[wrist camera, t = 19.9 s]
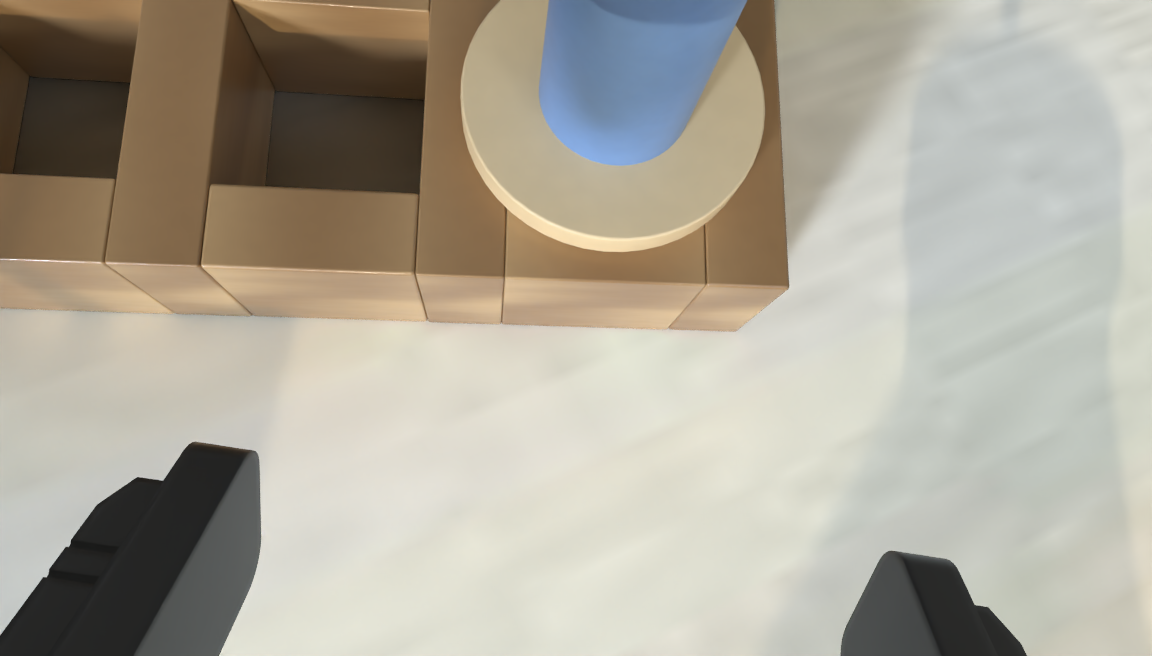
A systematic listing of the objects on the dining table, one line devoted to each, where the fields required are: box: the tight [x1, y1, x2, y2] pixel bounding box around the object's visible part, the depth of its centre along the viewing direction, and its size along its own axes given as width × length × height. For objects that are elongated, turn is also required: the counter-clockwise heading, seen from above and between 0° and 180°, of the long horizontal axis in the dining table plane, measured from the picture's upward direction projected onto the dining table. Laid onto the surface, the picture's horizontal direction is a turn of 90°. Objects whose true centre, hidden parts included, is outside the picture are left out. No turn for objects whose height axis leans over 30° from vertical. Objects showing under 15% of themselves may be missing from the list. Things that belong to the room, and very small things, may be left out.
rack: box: [0, 0, 789, 331], centre depth 20 cm, size 20×8×4 cm, turn 89°
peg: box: [460, 0, 765, 252], centre depth 15 cm, size 6×6×13 cm
